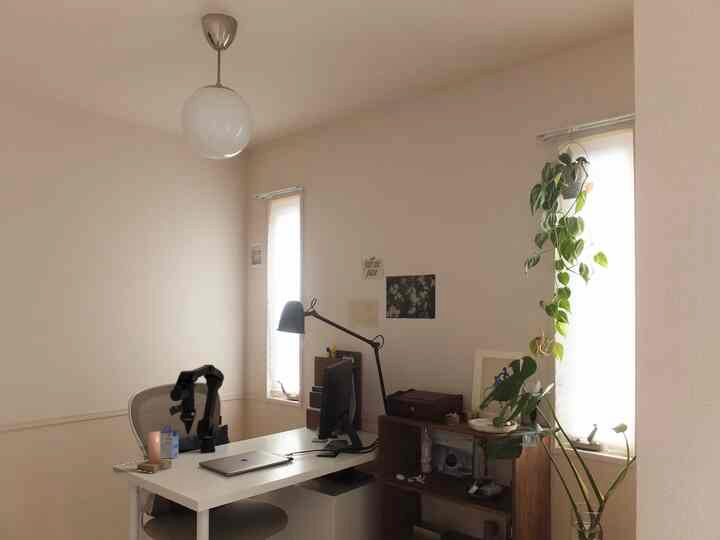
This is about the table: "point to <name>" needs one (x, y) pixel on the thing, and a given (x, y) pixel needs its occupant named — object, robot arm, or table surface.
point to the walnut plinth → (154, 466)
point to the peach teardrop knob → (154, 447)
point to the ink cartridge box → (168, 443)
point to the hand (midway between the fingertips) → (188, 432)
